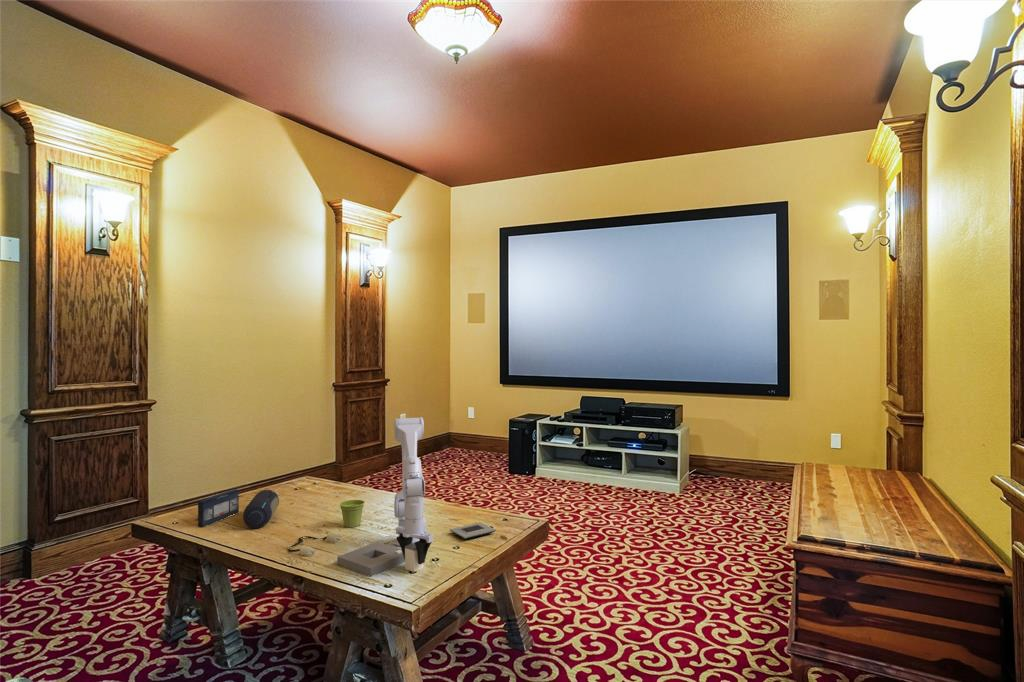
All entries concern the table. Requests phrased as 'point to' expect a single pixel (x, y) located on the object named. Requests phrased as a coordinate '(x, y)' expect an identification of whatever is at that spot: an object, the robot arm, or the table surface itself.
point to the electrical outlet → (472, 530)
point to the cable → (309, 550)
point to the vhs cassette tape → (218, 507)
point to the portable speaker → (261, 509)
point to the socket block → (369, 566)
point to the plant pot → (352, 512)
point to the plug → (412, 558)
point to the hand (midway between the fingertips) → (414, 560)
